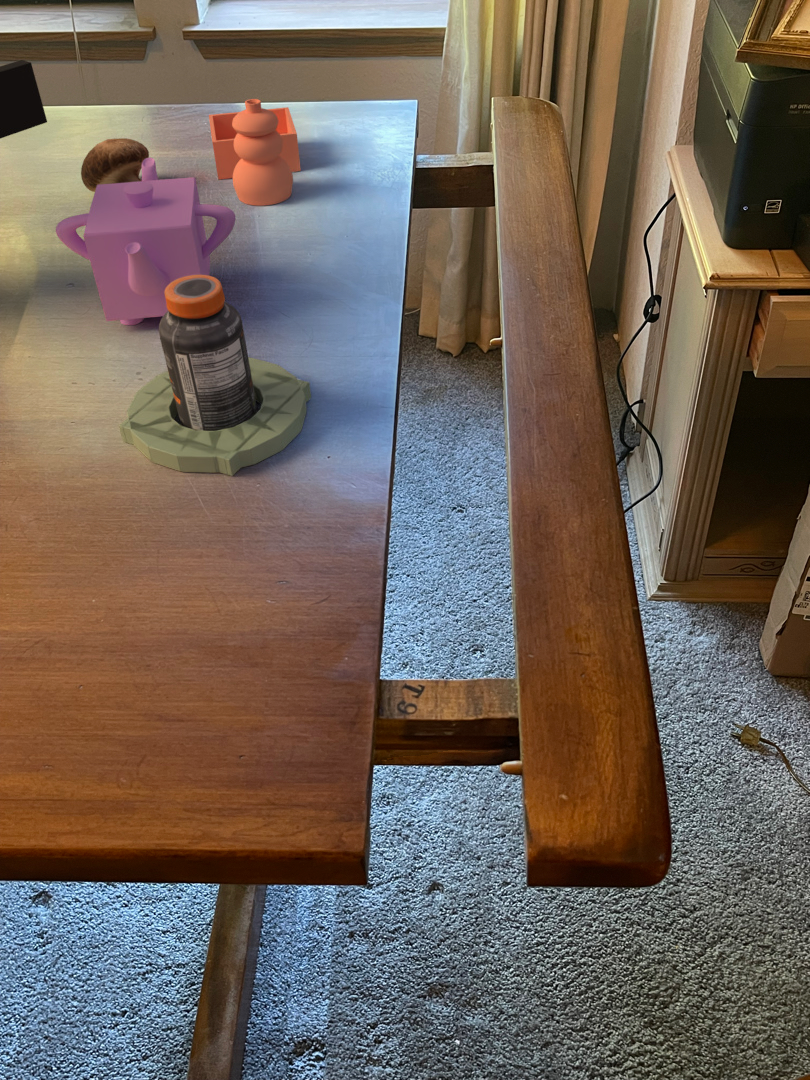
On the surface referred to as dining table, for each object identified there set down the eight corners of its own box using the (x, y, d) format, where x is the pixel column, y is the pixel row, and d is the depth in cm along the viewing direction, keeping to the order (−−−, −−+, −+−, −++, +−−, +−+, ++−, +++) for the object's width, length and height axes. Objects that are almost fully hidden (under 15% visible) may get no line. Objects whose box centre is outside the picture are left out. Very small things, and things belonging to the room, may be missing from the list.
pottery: (214, 150, 115) (200, 63, 108) (292, 143, 116) (282, 56, 110) (222, 211, 102) (207, 116, 95) (310, 202, 103) (300, 107, 97)
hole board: (95, 444, 72) (90, 428, 70) (200, 358, 80) (197, 342, 79) (242, 492, 67) (239, 475, 66) (336, 395, 75) (335, 379, 74)
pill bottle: (192, 396, 76) (163, 265, 68) (264, 398, 75) (244, 266, 68) (171, 441, 72) (138, 306, 64) (248, 444, 71) (224, 307, 63)
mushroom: (163, 170, 102) (127, 117, 100) (102, 212, 102) (65, 159, 100) (167, 180, 110) (133, 131, 108) (110, 219, 110) (75, 170, 108)
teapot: (54, 304, 88) (18, 188, 80) (169, 252, 95) (146, 142, 88) (156, 360, 80) (127, 238, 73) (272, 300, 87) (257, 183, 80)
